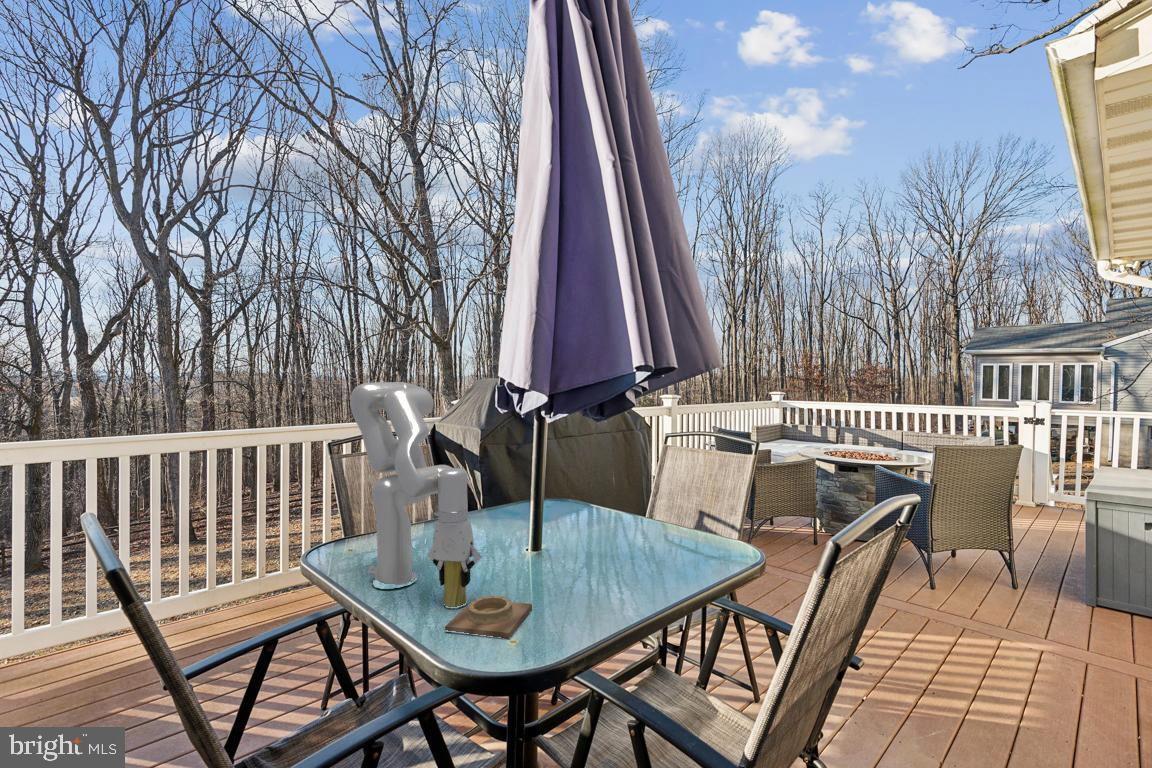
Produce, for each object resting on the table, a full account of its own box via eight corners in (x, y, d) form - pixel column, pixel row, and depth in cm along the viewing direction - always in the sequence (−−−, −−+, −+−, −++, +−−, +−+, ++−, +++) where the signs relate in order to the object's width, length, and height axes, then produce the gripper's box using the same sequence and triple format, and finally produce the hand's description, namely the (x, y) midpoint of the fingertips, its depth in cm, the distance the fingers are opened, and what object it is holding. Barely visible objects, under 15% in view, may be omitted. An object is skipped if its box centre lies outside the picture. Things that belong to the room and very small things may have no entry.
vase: (438, 606, 140) (437, 552, 140) (455, 598, 145) (454, 545, 145) (454, 611, 137) (453, 555, 137) (472, 603, 142) (470, 549, 142)
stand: (445, 632, 125) (444, 615, 125) (474, 604, 141) (474, 589, 141) (509, 639, 121) (508, 621, 121) (532, 609, 137) (531, 594, 137)
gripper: (416, 518, 139) (418, 587, 139) (477, 521, 135) (478, 592, 135) (431, 511, 147) (432, 577, 147) (489, 513, 142) (490, 581, 142)
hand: (454, 583), depth 141 cm, fingers closed on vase, 5 cm apart
